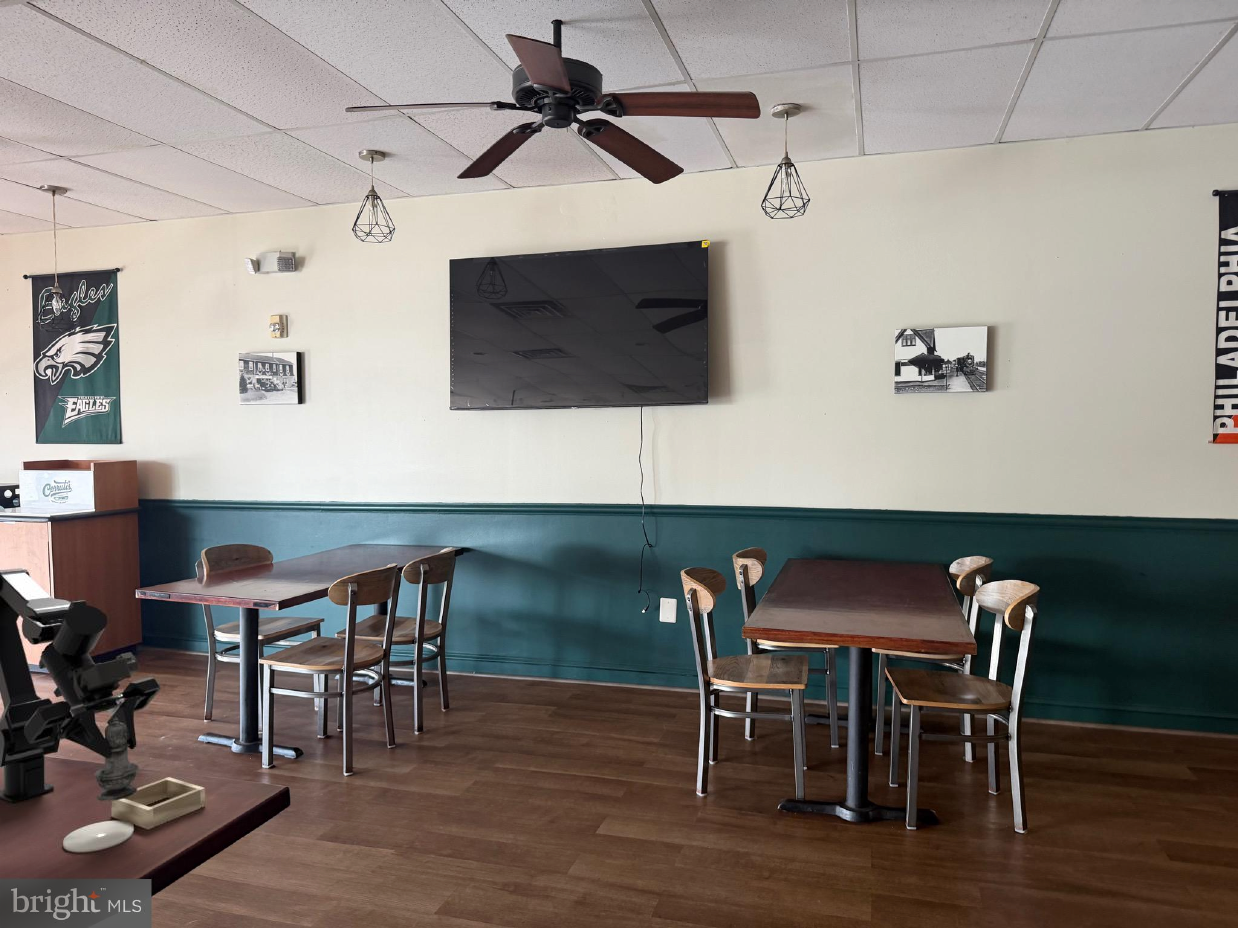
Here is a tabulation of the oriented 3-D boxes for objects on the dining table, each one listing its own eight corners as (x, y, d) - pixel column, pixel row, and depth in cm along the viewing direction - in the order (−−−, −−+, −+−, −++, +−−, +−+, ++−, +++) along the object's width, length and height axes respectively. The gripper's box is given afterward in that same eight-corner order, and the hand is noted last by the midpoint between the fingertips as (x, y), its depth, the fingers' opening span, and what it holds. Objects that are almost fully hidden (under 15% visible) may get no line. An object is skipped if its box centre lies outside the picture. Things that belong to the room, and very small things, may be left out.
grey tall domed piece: (119, 803, 123) (117, 724, 122) (85, 800, 124) (83, 722, 123) (148, 786, 128) (146, 711, 128) (115, 784, 129) (113, 709, 129)
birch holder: (111, 816, 131) (111, 797, 131) (168, 794, 139) (168, 776, 139) (148, 829, 126) (148, 810, 126) (204, 805, 135) (204, 787, 135)
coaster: (50, 843, 121) (50, 839, 121) (111, 819, 129) (111, 815, 129) (85, 857, 117) (85, 853, 117) (146, 832, 125) (146, 828, 125)
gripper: (36, 653, 118) (87, 739, 114) (153, 628, 136) (201, 702, 132) (2, 700, 121) (50, 786, 117) (120, 670, 139) (166, 744, 135)
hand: (122, 751), depth 125 cm, fingers closed on grey tall domed piece, 4 cm apart
